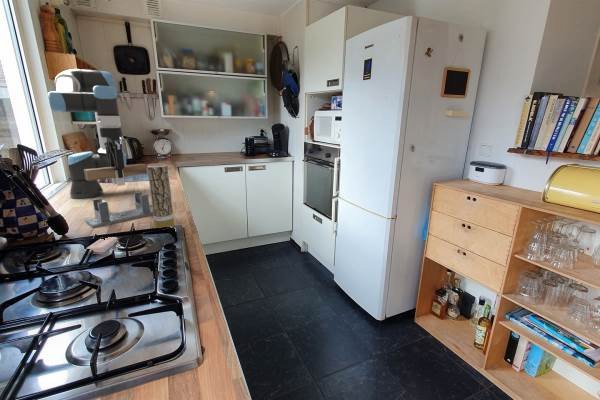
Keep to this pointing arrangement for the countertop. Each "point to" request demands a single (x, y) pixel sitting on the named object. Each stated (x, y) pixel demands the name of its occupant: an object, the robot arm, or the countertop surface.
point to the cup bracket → (105, 218)
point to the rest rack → (107, 203)
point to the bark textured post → (160, 195)
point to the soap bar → (102, 244)
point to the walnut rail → (110, 172)
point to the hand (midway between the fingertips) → (119, 184)
